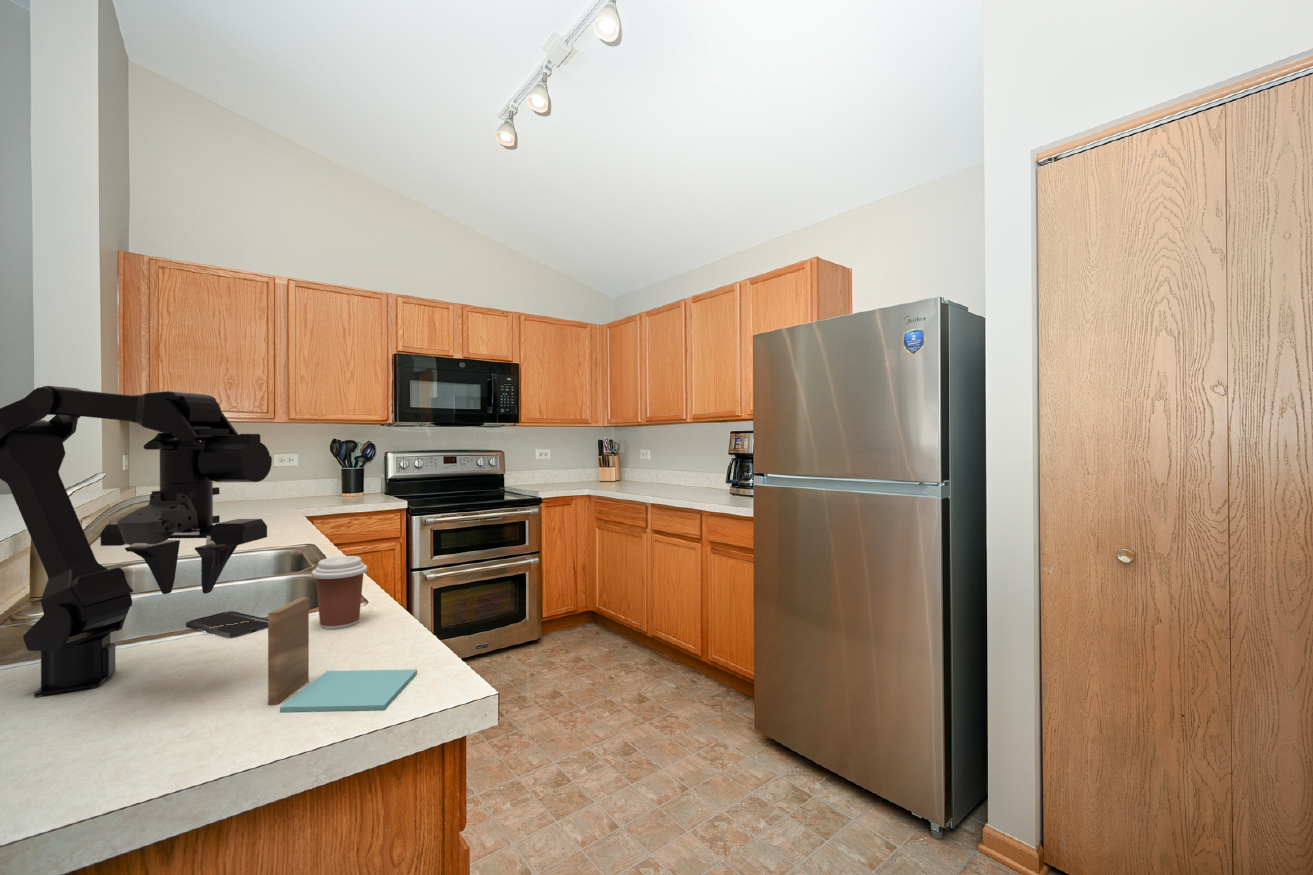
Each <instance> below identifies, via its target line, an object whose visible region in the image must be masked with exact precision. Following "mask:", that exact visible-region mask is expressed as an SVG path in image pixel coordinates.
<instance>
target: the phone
mask: <svg viewBox="0 0 1313 875" xmlns="http://www.w3.org/2000/svg"><path fill="white" fill-rule="evenodd" d="M255 620H257V621H255ZM242 621H249V622H243V623H240V622H242ZM234 623H238V624H234ZM226 624H234V625H226ZM220 625H224V626H221V627H215V628H210V629H209V627H214V626H220ZM185 628H188V629H192V630H194V629H202V630H205V631H206V632H207V633H206V632H205V633H206V634H210V635H213V634H215V635H214V636H217V635H218V637H221V638H226V639H235V638H239V637H242V636H246V635H250V634H254V633H256V632H260V631H263V630H266V629H267V630H268V618H265V619H264V617H260V616H256V615H251V614H246V613H242V612H237V611H233V610H230V611H229V610H228V611H224V612H219V613H215V614H212V615H211V614H210V615H207V616H203V617H199V618H196V619H192V620H188V621H186V622H185ZM197 631H199V632H202V631H201V630H197Z"/></svg>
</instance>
